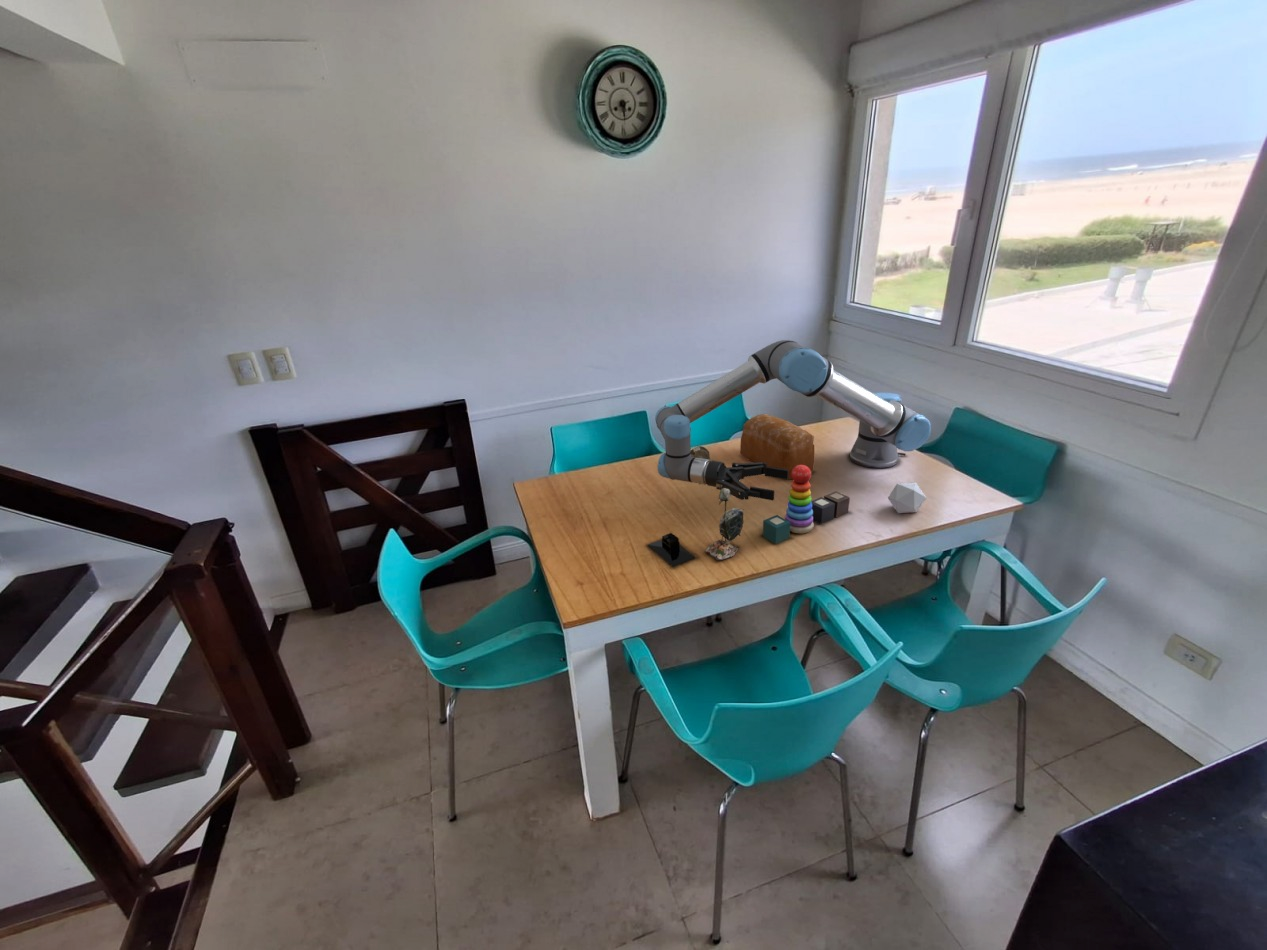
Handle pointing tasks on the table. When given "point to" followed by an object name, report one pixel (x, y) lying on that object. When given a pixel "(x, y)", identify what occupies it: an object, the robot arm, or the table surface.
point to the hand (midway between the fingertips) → (781, 484)
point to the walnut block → (839, 503)
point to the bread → (777, 443)
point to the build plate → (671, 550)
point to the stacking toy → (800, 501)
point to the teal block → (776, 529)
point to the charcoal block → (822, 510)
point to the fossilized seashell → (700, 452)
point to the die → (907, 497)
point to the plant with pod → (727, 529)
